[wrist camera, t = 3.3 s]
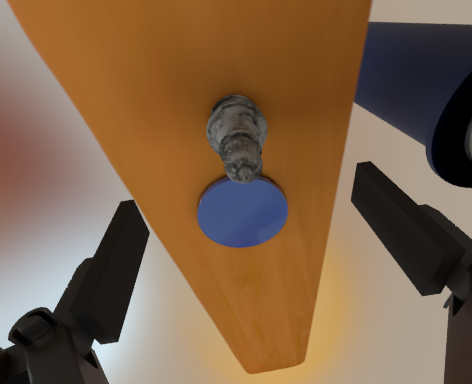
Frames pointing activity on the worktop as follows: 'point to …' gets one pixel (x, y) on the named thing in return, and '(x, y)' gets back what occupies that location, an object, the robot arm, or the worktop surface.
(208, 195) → the plate
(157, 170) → the worktop surface
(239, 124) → the grey tall tiered piece
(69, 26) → the worktop surface
